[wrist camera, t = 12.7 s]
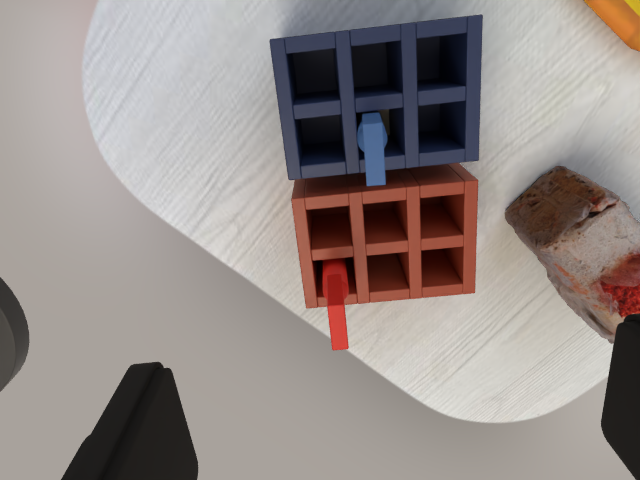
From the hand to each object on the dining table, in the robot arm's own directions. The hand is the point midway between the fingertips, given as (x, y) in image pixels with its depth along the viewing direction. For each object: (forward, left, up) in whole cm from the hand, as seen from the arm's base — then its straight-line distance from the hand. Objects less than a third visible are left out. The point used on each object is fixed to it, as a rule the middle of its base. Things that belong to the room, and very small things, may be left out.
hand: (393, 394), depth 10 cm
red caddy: (+3, -7, -30) cm, 31 cm away
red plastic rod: (-1, -9, -29) cm, 31 cm away
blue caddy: (+3, +3, -30) cm, 30 cm away
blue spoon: (+2, +1, -29) cm, 29 cm away
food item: (+20, -11, -30) cm, 38 cm away
